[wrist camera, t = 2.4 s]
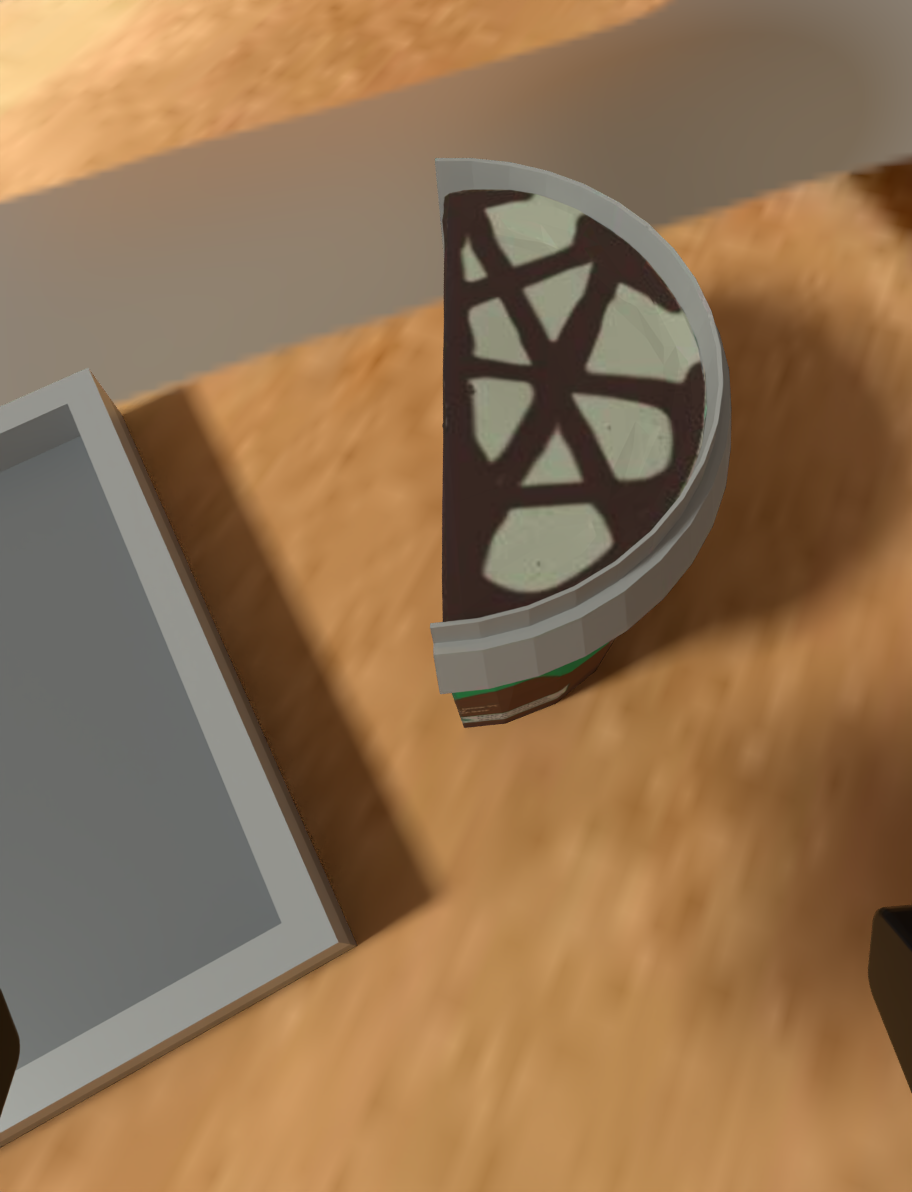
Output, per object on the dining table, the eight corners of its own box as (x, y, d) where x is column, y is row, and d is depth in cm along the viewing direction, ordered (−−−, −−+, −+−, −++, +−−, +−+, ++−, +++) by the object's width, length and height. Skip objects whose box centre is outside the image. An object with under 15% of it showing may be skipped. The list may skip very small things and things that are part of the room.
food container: (692, 777, 23) (807, 647, 14) (464, 781, 23) (429, 657, 14) (649, 401, 28) (712, 123, 19) (461, 409, 28) (434, 141, 19)
